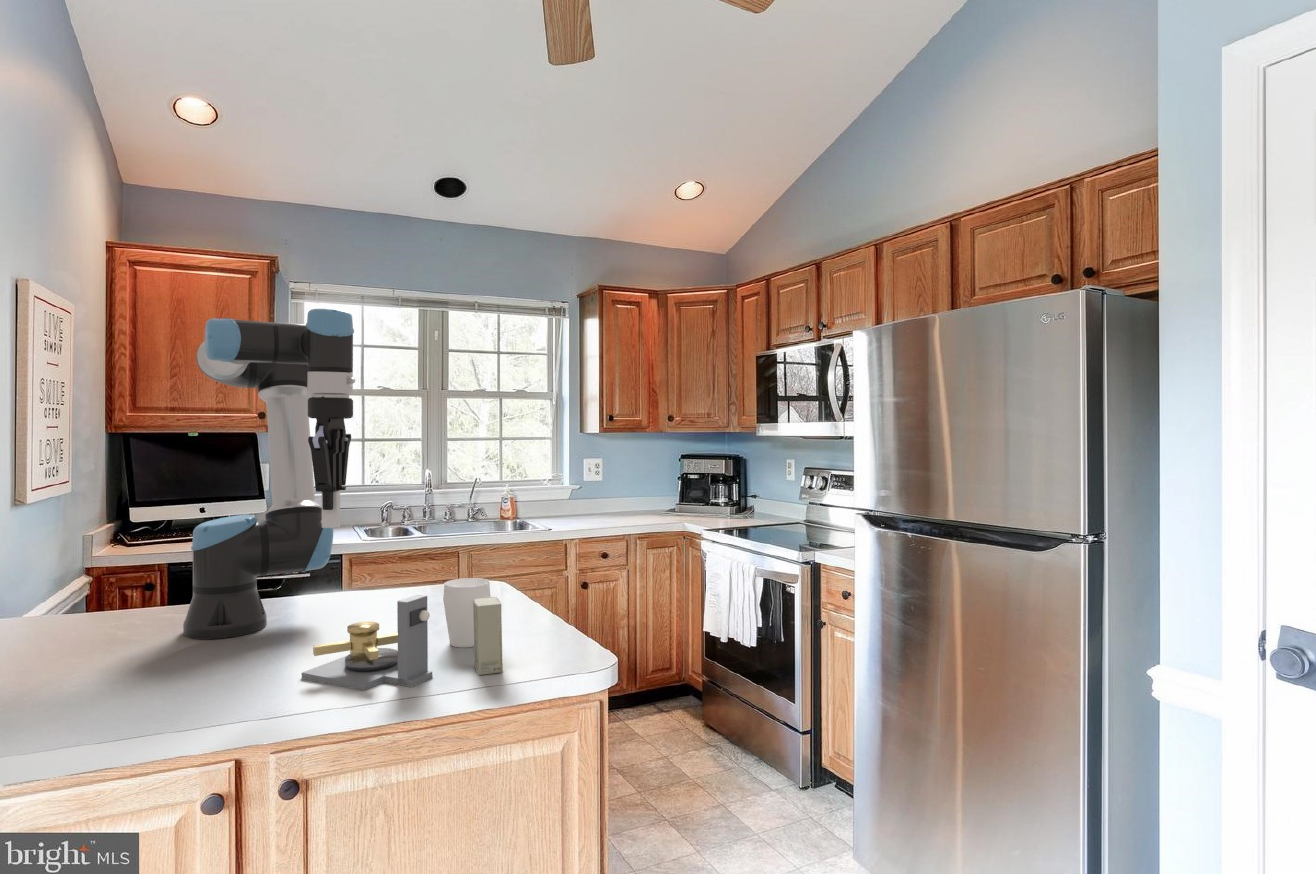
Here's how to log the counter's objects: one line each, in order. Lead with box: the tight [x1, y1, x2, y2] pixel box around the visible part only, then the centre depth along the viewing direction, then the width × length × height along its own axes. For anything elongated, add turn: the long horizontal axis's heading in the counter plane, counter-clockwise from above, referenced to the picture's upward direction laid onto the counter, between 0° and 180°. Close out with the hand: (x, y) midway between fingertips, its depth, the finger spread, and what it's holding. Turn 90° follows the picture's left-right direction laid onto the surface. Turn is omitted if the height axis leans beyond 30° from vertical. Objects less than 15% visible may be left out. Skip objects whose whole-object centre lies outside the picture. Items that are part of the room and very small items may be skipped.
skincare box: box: [473, 596, 504, 676], centre depth 134 cm, size 6×4×12 cm
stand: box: [301, 594, 433, 692], centre depth 131 cm, size 20×14×14 cm
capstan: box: [312, 621, 398, 671], centre depth 132 cm, size 17×16×7 cm
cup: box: [442, 577, 491, 649], centre depth 149 cm, size 9×9×12 cm
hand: (331, 527), depth 136 cm, fingers closed
